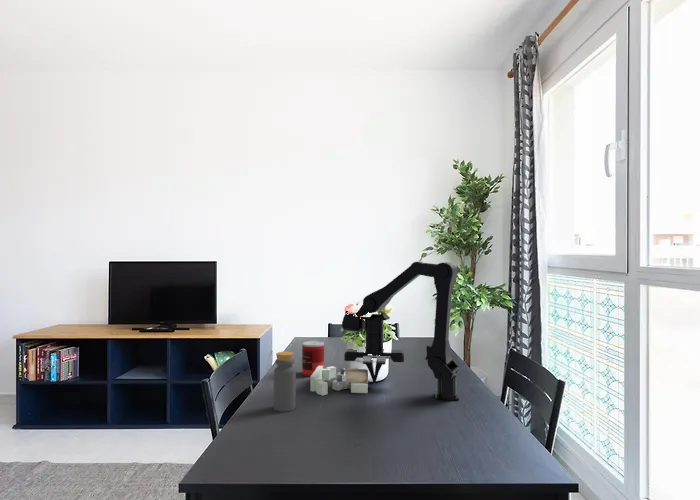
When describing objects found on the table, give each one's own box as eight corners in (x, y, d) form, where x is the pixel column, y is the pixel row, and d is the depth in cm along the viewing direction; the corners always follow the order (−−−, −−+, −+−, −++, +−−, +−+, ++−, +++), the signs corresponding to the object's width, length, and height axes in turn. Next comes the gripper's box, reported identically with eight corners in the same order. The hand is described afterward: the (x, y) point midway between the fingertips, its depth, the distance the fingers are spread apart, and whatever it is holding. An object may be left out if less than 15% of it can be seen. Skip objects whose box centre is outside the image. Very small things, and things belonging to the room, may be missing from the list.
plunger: (351, 382, 145) (351, 369, 145) (345, 383, 144) (345, 371, 144) (342, 379, 149) (342, 366, 149) (336, 380, 148) (336, 368, 148)
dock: (366, 397, 131) (366, 381, 131) (308, 395, 133) (308, 379, 133) (370, 377, 152) (370, 364, 153) (320, 375, 154) (320, 362, 154)
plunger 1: (345, 386, 141) (345, 373, 141) (349, 387, 139) (349, 374, 139) (332, 388, 138) (332, 375, 138) (337, 390, 136) (337, 377, 136)
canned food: (325, 371, 160) (325, 341, 161) (322, 377, 152) (322, 345, 153) (304, 371, 161) (304, 340, 161) (300, 376, 153) (300, 344, 153)
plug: (366, 389, 138) (366, 373, 138) (344, 389, 139) (344, 372, 139) (368, 383, 145) (368, 368, 145) (347, 382, 146) (347, 367, 146)
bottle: (291, 412, 118) (291, 355, 118) (270, 411, 119) (270, 354, 119) (298, 405, 123) (298, 351, 124) (278, 404, 125) (278, 350, 125)
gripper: (403, 329, 149) (403, 376, 149) (348, 328, 151) (348, 375, 151) (403, 335, 138) (404, 386, 137) (344, 334, 140) (344, 384, 140)
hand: (374, 382), depth 142 cm, fingers closed
